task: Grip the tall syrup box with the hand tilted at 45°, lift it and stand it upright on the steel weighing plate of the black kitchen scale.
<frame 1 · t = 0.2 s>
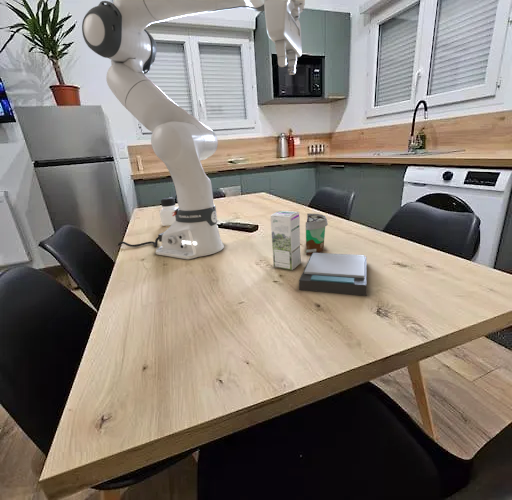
hand: (287, 70, 72), 48 cm above the table, tool pointing down, fingers open, 8 cm apart
food container: (317, 250, 90), on the table
medicine bottle: (171, 224, 138), on the table
syrup box: (287, 266, 80), on the table
kitchen scale: (335, 276, 71), on the table
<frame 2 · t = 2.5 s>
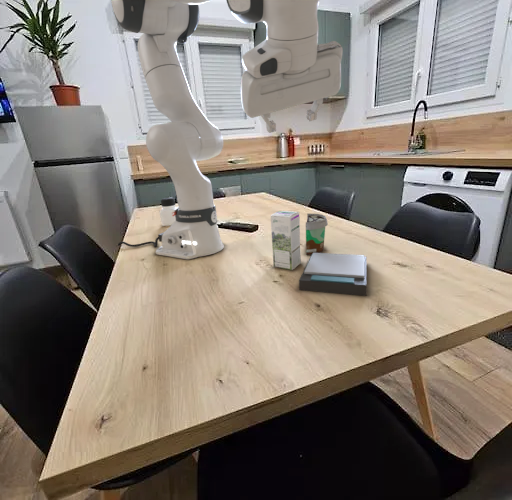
hand: (291, 125, 63), 35 cm above the table, tool tilted 30°, fingers open, 8 cm apart
nothing on the table moved.
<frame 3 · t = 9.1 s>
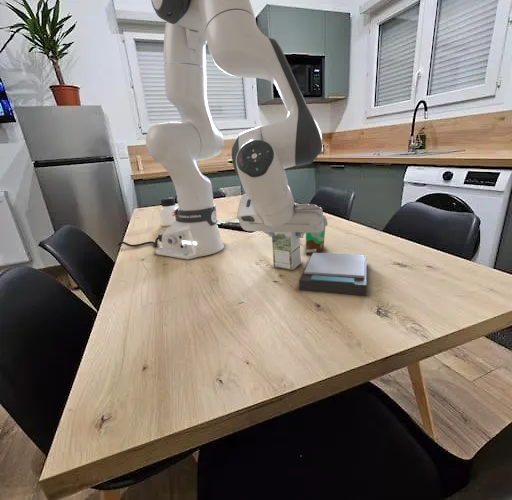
hand: (286, 235, 78), 8 cm above the table, tool tilted 45°, fingers closed on syrup box, 6 cm apart
syrup box: (287, 266, 80), on the table, touching gripper
everything else where it was.
when the fingers open (11 cm above the table, at t = 17.9 s): syrup box stays where it is, resting on kitchen scale.
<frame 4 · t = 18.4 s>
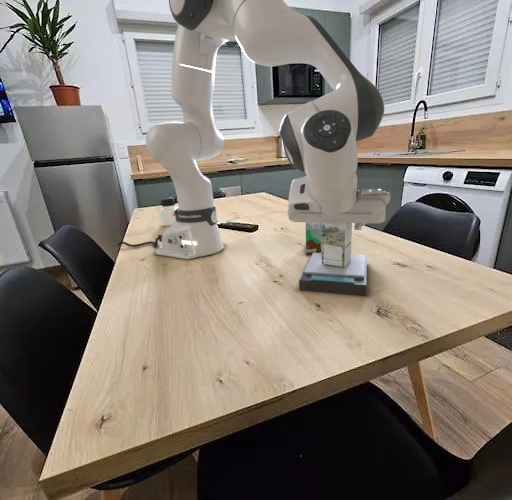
hand: (336, 227, 69), 12 cm above the table, tool tilted 45°, fingers open, 8 cm apart
syrup box: (336, 263, 72), point 3 cm above the table, touching kitchen scale
everything else where it was.
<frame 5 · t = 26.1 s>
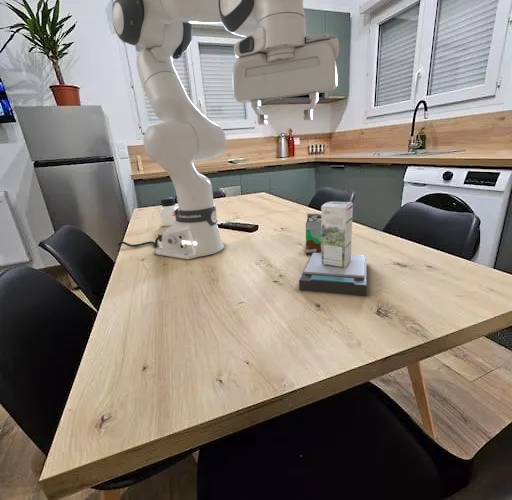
hand: (284, 122, 60), 35 cm above the table, tool pointing down, fingers open, 8 cm apart
nothing on the table moved.
at the end: syrup box inside the target area on the kitchen scale (0.1 cm from its centre), point 2.8 cm above the kitchen scale's base; syrup box tilted 0°; the gripper is holding nothing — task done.
